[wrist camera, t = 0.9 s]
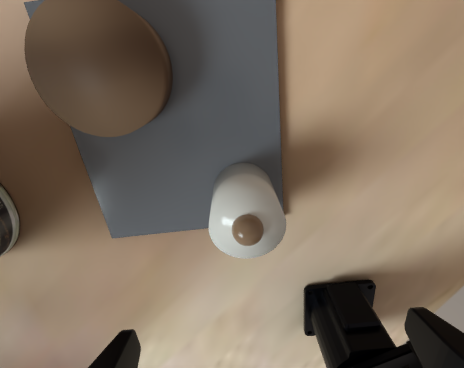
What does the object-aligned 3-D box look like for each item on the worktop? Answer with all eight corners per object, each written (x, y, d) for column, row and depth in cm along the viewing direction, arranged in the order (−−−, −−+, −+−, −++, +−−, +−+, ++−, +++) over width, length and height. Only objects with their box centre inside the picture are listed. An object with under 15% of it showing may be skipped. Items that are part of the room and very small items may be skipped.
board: (282, 216, 20) (283, 220, 20) (115, 233, 21) (112, 238, 20) (272, -28, 14) (274, -33, 13) (31, 5, 14) (23, 2, 14)
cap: (273, 212, 19) (291, 267, 14) (217, 218, 20) (213, 275, 14) (270, 159, 18) (289, 197, 12) (209, 166, 18) (200, 207, 12)
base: (182, 122, 16) (175, 129, 14) (80, 134, 17) (57, 143, 14) (158, -5, 14) (144, -22, 11) (36, 11, 14) (-2, -1, 12)
